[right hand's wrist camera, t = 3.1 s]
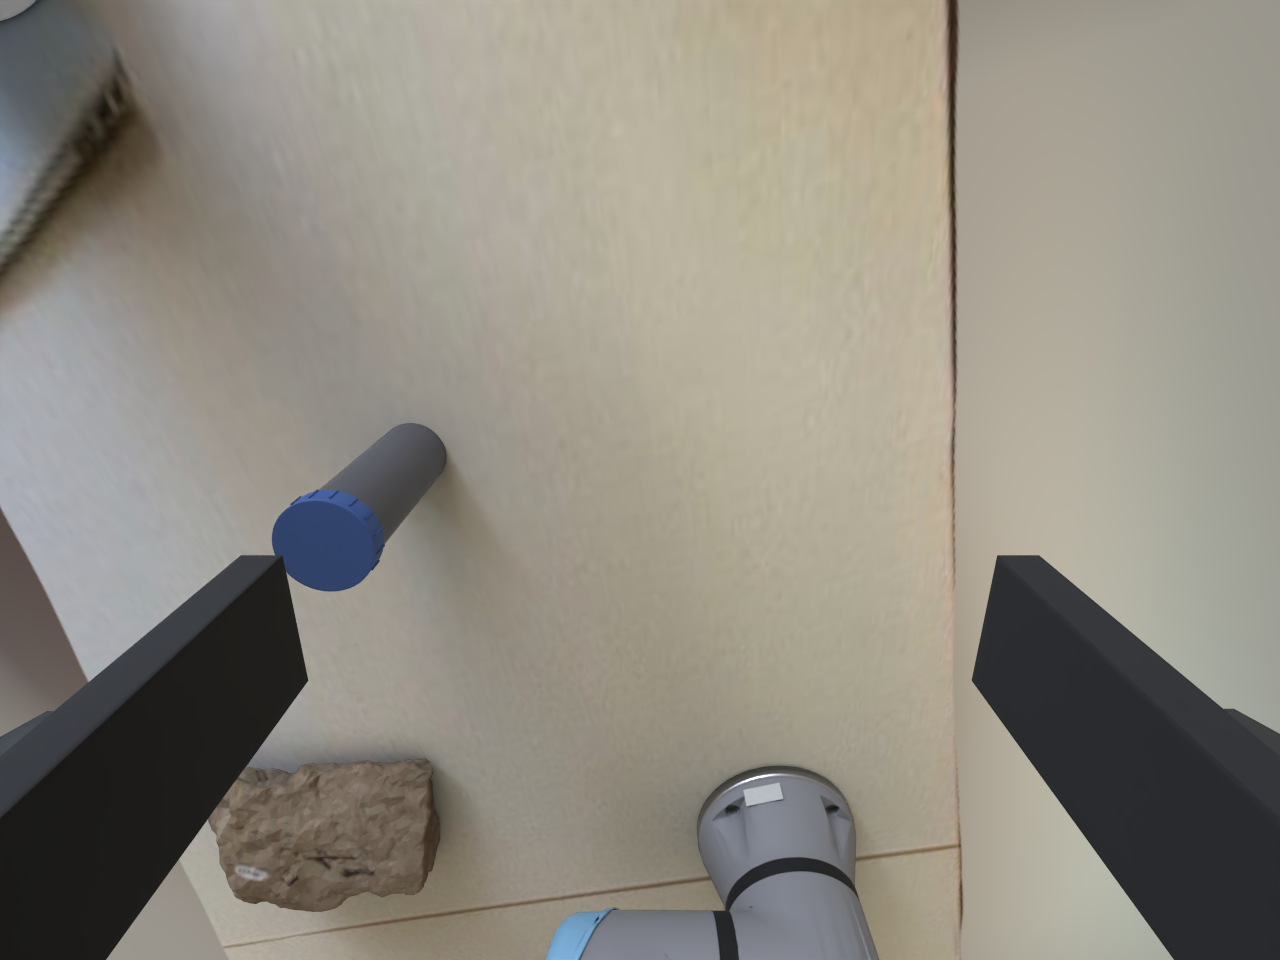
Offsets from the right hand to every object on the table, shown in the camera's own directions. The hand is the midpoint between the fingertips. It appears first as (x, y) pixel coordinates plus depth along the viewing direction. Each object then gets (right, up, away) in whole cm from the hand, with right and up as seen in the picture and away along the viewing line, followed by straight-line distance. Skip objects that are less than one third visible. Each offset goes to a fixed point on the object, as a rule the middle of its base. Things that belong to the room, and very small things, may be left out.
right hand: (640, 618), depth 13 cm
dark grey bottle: (-18, +5, +42) cm, 46 cm away
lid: (-18, -1, +26) cm, 32 cm away
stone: (-30, -29, +54) cm, 68 cm away
